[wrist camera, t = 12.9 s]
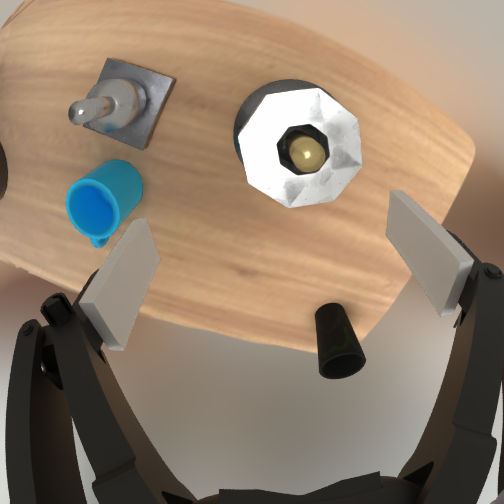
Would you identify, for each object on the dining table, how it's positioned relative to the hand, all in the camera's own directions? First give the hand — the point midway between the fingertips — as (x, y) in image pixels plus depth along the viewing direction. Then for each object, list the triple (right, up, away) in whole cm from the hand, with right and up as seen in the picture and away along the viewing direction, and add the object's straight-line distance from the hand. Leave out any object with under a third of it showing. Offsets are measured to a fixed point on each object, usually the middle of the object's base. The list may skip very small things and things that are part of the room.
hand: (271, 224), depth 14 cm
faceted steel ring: (+4, +10, +13) cm, 17 cm away
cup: (+13, -13, +35) cm, 40 cm away
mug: (-21, +7, +23) cm, 32 cm away
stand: (-17, +18, +15) cm, 29 cm away
